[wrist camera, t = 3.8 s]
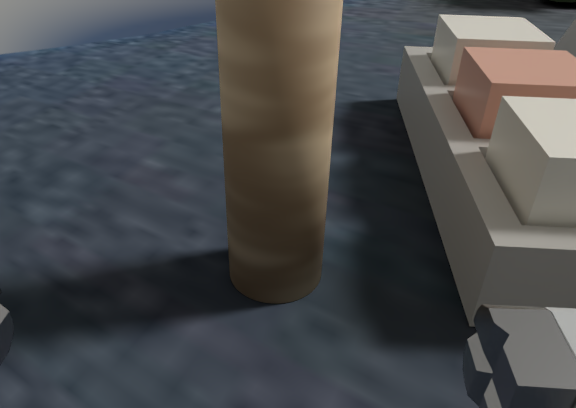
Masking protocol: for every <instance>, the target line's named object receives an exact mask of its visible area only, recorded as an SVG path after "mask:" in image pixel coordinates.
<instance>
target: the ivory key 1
mask: <svg viewBox="0 0 576 408" xmlns="http://www.w3.org/2000/svg"><path fill="white" fill-rule="evenodd" d="M555 43H556V42H555V41H553V40H552V39H551V38H550V37H548V36H547V35H546V34H544V33H543V32H542V31H540V30H539V29H538V28H537V27H535V26H534V25H533V24H531V23H530V22H529V21H527V20H526V19H525V18H520V17H493V16H466V15H440V14H439V17H438V23H437V28H436V34H435V39H434V45H433V50H432V56H431V62H432V64H433V66H434V68H435V69H436V71H437V73H438V75H439V77H440V78H441V80H442V82H443V84H444V85H456V81H457V76H458V72H459V67H460V63H461V58H462V53H463V49H464V47H487V48H513V49H538V50H553V49H554V46H555Z"/></svg>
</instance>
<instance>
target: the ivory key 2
mask: <svg viewBox="0 0 576 408" xmlns="http://www.w3.org/2000/svg"><path fill="white" fill-rule="evenodd" d="M485 160H486V162H487V163H488V165H489V167H490V169H491V171H492V172H493V174H494V176H495V178H496V180H497V181H498V183H499V185H500V187H501V189H502V190H503V192H504V194H505V196H506V198H507V200H508V201H509V203H510V205H511V207H512V209H513V210H514V212H515V214H516V216H517V218H518V219H519V221H520V223H521V225H529V226H549V227H569V228H576V99H566V98H543V97H519V96H502V98H501V102H500V105H499V109H498V113H497V116H496V120H495V124H494V128H493V131H492V135H491V139H490V142H489V146H488V150H487V153H486V157H485Z"/></svg>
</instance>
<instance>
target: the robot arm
mask: <svg viewBox="0 0 576 408" xmlns="http://www.w3.org/2000/svg"><path fill="white" fill-rule="evenodd" d="M1 293H2V292H1V289H0V295H1ZM473 321H474V324H475V327H476V331H477V333H475V334H474V335H473V336H471V337H470V338H468V339H467V342H466V346H465V349H464V353H463V376H464V383H465V387H466V391H467V395H468V396H469V397H470V398H471V399H472V400H473V401H474V402H475V403H476V404H477V405H478V406H479V408H576V309H575V308H554V307H544V308H542V307H530V306H510V305H490V304H482V305H481V306H480V307H479V308H478V309H477V312H476V314H475V317H474V320H473ZM13 335H14V330H13V320H12V317H11V315H10V312H9V311H8V310H7V309H6V308H5V307H3V306H2V305H1V304H0V365H1V364H2V362H3V360H4V359H5V357H6V356H7V354H8V352H9V350H10V346H11V343H12V339H13Z"/></svg>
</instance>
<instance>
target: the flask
mask: <svg viewBox="0 0 576 408" xmlns="http://www.w3.org/2000/svg"><path fill="white" fill-rule="evenodd" d="M553 50H563V51H568V52H569V53H570V54H572V55H573V56H574V57H576V19H575V20H574V22H573V23H572V24H571V26H570V27H569V28H568V30H567V31H566V32H565V34H564V35H563V36H562V38H561V39H560V40H559V42H558V43H557V44H556V46H555V47H554V49H553Z"/></svg>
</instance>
